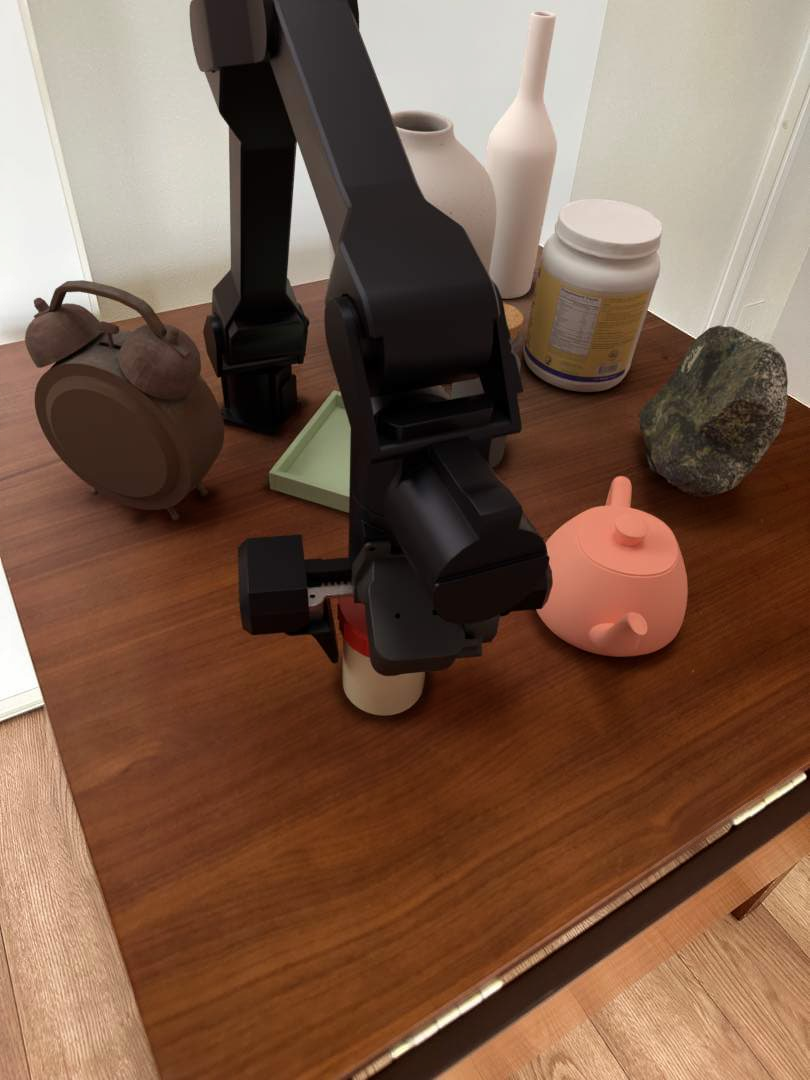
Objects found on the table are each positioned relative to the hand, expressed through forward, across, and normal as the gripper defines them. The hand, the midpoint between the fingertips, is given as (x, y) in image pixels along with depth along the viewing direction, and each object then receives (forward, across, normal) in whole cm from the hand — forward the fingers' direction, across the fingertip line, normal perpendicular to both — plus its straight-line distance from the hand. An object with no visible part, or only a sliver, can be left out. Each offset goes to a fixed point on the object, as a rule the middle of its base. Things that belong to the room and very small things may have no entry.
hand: (387, 653), depth 54 cm
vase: (+4, +9, +46) cm, 47 cm away
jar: (+4, 0, +1) cm, 4 cm away
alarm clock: (+4, -18, +23) cm, 29 cm away
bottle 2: (+4, +13, +26) cm, 29 cm away
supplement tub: (+4, +28, +40) cm, 49 cm away
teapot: (+4, +18, +5) cm, 19 cm away
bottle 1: (+4, +24, +60) cm, 65 cm away
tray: (+4, +1, +26) cm, 26 cm away
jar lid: (-5, 0, +1) cm, 5 cm away
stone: (+4, +33, +20) cm, 39 cm away
